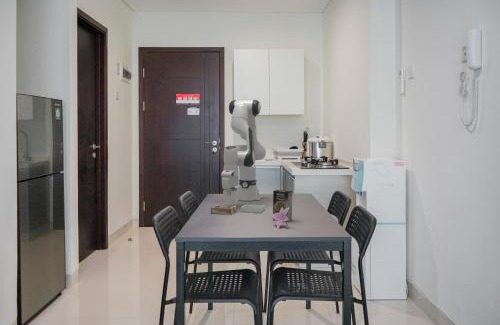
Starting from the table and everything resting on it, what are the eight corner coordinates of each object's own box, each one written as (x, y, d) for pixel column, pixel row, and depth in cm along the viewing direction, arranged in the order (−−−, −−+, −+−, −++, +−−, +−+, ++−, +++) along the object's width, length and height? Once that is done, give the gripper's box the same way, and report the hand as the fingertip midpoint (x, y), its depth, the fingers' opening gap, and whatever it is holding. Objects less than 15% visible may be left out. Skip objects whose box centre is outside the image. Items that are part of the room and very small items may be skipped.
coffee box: (272, 220, 226) (272, 190, 225) (277, 218, 232) (277, 189, 231) (287, 221, 222) (288, 191, 221) (292, 219, 228) (292, 190, 226)
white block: (226, 200, 263) (226, 186, 262) (238, 201, 261) (238, 187, 260) (223, 201, 258) (223, 187, 258) (235, 202, 256) (235, 188, 255)
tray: (245, 209, 259) (245, 204, 259) (264, 210, 256) (264, 205, 256) (240, 211, 250) (240, 207, 250) (260, 213, 246) (260, 208, 246)
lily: (272, 225, 219) (266, 210, 215) (293, 216, 218) (287, 201, 215) (276, 237, 208) (269, 222, 204) (298, 228, 207) (291, 213, 204)
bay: (217, 210, 254) (217, 204, 254) (236, 211, 250) (236, 205, 250) (210, 213, 245) (210, 207, 244) (230, 214, 241) (230, 208, 241)
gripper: (231, 170, 269) (231, 191, 270) (220, 173, 249) (220, 196, 250) (241, 170, 267) (241, 192, 268) (229, 174, 247) (229, 197, 249)
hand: (230, 194), depth 259 cm, fingers closed on white block, 5 cm apart
